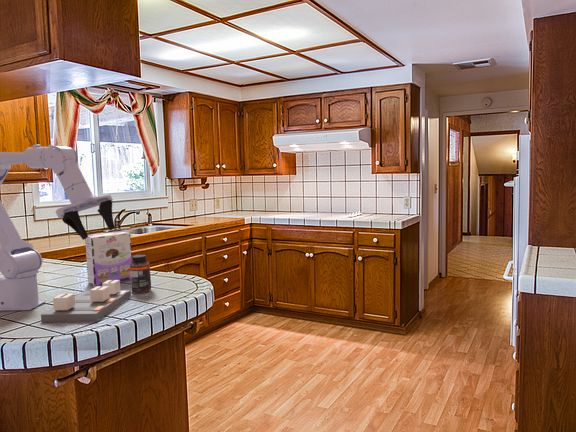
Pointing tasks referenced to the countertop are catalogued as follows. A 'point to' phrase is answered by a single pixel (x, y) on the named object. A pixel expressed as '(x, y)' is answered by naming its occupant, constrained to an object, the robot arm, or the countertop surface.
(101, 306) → the panel
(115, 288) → the knob
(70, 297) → the slotted white cube
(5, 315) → the countertop surface
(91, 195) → the robot arm
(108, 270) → the candy box
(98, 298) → the knob
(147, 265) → the supplement bottle
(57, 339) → the countertop surface
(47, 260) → the countertop surface
